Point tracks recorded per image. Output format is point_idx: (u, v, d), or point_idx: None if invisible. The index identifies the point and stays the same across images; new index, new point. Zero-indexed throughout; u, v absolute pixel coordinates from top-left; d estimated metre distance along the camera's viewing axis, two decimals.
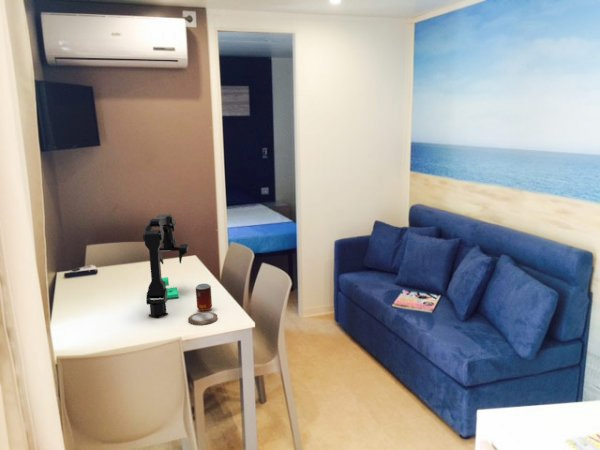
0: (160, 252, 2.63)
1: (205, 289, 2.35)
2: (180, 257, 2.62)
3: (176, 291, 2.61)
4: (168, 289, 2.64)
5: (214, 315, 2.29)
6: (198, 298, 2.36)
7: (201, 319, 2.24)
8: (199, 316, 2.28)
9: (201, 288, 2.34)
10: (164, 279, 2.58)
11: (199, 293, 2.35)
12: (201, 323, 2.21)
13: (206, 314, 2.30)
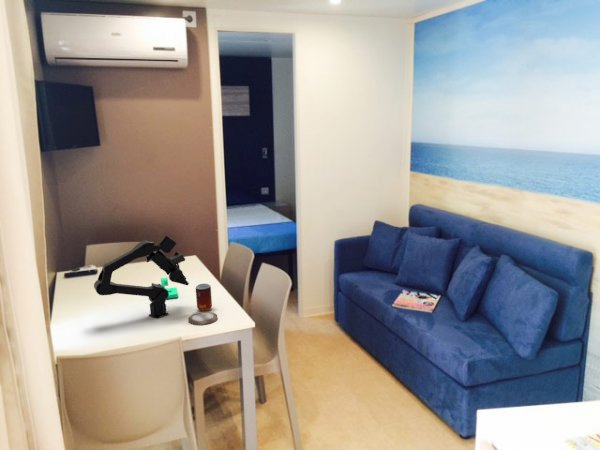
0: None
1: (205, 289, 2.35)
2: None
3: (175, 291, 2.60)
4: (167, 289, 2.64)
5: (214, 315, 2.29)
6: (198, 298, 2.36)
7: (201, 319, 2.24)
8: (199, 316, 2.28)
9: (201, 288, 2.34)
10: (163, 279, 2.58)
11: (199, 293, 2.35)
12: (201, 323, 2.21)
13: (206, 314, 2.30)
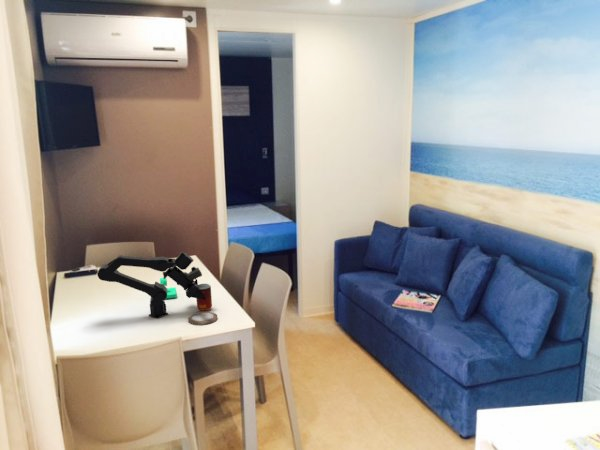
0: None
1: (205, 289, 2.35)
2: None
3: (174, 291, 2.60)
4: (167, 289, 2.64)
5: (214, 315, 2.29)
6: None
7: (201, 319, 2.24)
8: (199, 316, 2.28)
9: (201, 288, 2.34)
10: (162, 279, 2.58)
11: None
12: (201, 323, 2.21)
13: (206, 314, 2.30)
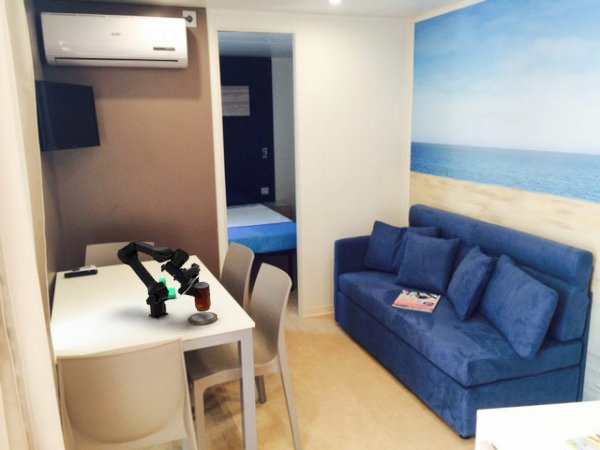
0: (194, 281, 2.29)
1: (201, 288, 2.22)
2: None
3: (173, 291, 2.60)
4: None
5: (214, 315, 2.29)
6: (195, 297, 2.24)
7: (201, 319, 2.24)
8: (199, 316, 2.28)
9: (197, 287, 2.22)
10: (161, 279, 2.58)
11: None
12: (201, 323, 2.21)
13: (206, 314, 2.30)
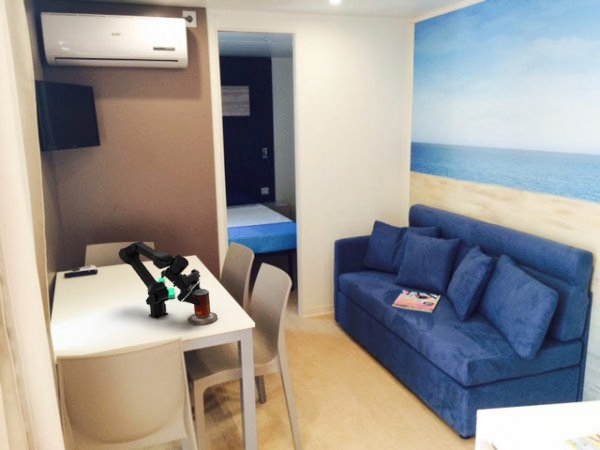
0: (195, 287, 2.30)
1: (200, 295, 2.22)
2: None
3: (172, 292, 2.60)
4: None
5: (214, 315, 2.29)
6: (194, 304, 2.24)
7: (201, 319, 2.24)
8: None
9: (197, 294, 2.22)
10: (160, 279, 2.57)
11: None
12: (201, 323, 2.21)
13: None
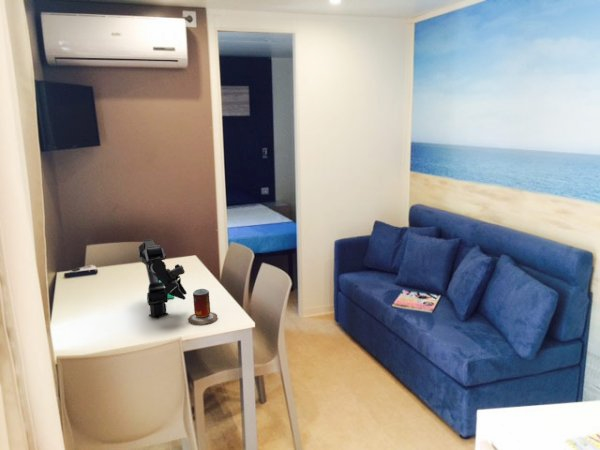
0: (176, 283, 2.31)
1: (200, 295, 2.22)
2: None
3: None
4: None
5: (214, 315, 2.29)
6: (194, 304, 2.24)
7: (201, 319, 2.24)
8: None
9: (197, 294, 2.22)
10: None
11: (195, 299, 2.23)
12: (201, 323, 2.21)
13: None
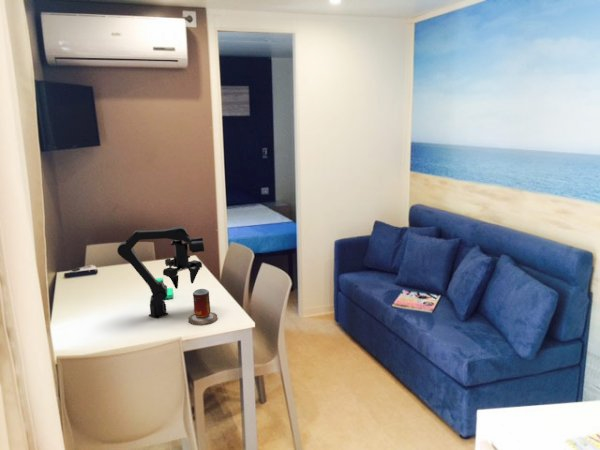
0: None
1: (200, 295, 2.22)
2: (195, 274, 2.37)
3: (171, 292, 2.60)
4: None
5: (214, 315, 2.29)
6: (194, 304, 2.24)
7: (201, 319, 2.24)
8: None
9: (197, 294, 2.22)
10: (158, 280, 2.57)
11: (195, 299, 2.23)
12: (201, 323, 2.21)
13: None
